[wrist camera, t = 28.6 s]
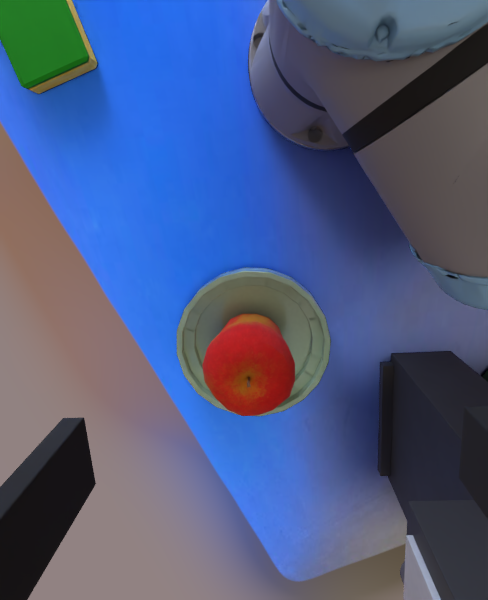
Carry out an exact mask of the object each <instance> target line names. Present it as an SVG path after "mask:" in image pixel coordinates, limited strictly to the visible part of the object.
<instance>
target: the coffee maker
mask: <svg viewBox="0 0 488 600" xmlns="http://www.w3.org/2000/svg"><path fill="white" fill-rule="evenodd" d="M474 406H488V382H487V381H486V380H485V379H484V378H482V377H481V376H480V375H479V374H478V373H476V372H475V371H474V370H473V369H472V368H470V367H469V366H468V365H467V364H465V363H464V362H463V361H462V360H461V359H459V358H458V357H457V356H456V355H455V354H453V353H452V352H451V351H444V352H417V353H392V354H391V362H380V391H379V435H378V471H379V474H380V476H388V478H389V480H390V483H391V485H392V487H393V489H394V492H395V494H396V496H397V498H398V501H399V503H400V505H401V508H402V510H403V512H404V514H405V517H406V519H407V535H406V552H405V561H404V563H403V564H402V566H401V570H400V575H401V578H402V581H403V584H404V597H403V600H488V519H487V518H486V516H485V515H484V513H483V512H482V511H481V509H480V508H479V506H478V505H477V503H476V502H475V500H474V499H473V498H472V496H471V495H470V493H469V492H468V490H467V489H466V487H465V486H464V484H463V483H462V482H461V480H460V479H459V468H460V456H461V443H462V430H463V418H464V407H474Z"/></svg>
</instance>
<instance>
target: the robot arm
mask: <svg viewBox="0 0 488 600" xmlns="http://www.w3.org/2000/svg"><path fill="white" fill-rule="evenodd" d="M248 70H249V78H250V85H251V89H252V93H253V96H254V100H255V102H256V104H257V107H258V109H259V110H260V112H261V114H262V116H263V117H264V119H265V120H266V121H267V123H268V124H269V125H270V126H271V127H272V128H273V129H274V130H275V131H276V132H277V133H278V134H279V135H281V136H282V137H283V138H285V139H286V140H288V141H289V142H291V143H293V144H295V145H298V146H301V147H303V148H307V149H312V150H319V151H330V150H338V149H343V148H347V147H350V148H351V149H352V151H353V154H354V156H355V157H356V159H357V160H358V162H359V163H360V165H361V167H362V168H363V170H364V171H365V173H366V174H367V176H368V178H369V179H370V181H371V182H372V184H373V186H374V187H375V189H376V190H377V192H378V193H379V195H380V197H381V198H382V200H383V201H384V203H385V204H386V206H387V208H388V209H389V211H390V212H391V214H392V216H393V217H394V219H395V220H396V222H397V223H398V225H399V227H400V228H401V230H402V231H403V233H404V234H405V236H406V238H407V239H408V241H409V248H410V250H411V252H412V254H413V255H414V257H415V258H416V259H417V260H418V261H419V262H420V263H421V264H422V265H423V266H424V267H426V268H427V270H428V271H429V273H430V274H431V275H432V277H433V278H434V280H435V281H436V283H437V284H438V285H439V287H440V288H441V289H442V290H443V291H444V292H445V293H446V294H448V295H449V296H451V297H452V298H454V299H455V300H457V301H459V302H461V303H463V304H465V305H468V306H472V307H475V308H479V309H484V310H488V0H267V2H266V3H265V5H264V7H263V9H262V10H261V13H260V15H259V17H258V19H257V21H256V24H255V26H254V30H253V33H252V36H251V41H250V46H249V55H248ZM459 479H460V480H461V482H462V483H463V484H464V486H465V487H466V489H467V490H468V492H469V493H470V495H471V496H472V498H473V499H474V500H475V502H476V503H477V505H478V506H479V508H480V509H481V511H482V512H483V513H484V515H485V516H486V518H487V519H488V406H474V407H464V418H463V430H462V443H461V456H460V468H459ZM95 484H96V483H95V478H94V472H93V466H92V461H91V455H90V449H89V443H88V438H87V432H86V426H85V421H84V418H63V419H62V420H61V421H60V422H59V423H58V425H57V426H56V427H55V428H54V429H53V430H52V431H51V432H50V433H49V434H48V435H47V436H46V438H45V439H44V440H43V441H42V442H41V443H40V444H39V445H38V446H37V447H36V448H35V450H34V451H33V452H32V453H31V454H30V455H29V456H28V457H27V458H26V459H25V461H24V462H23V463H22V464H21V465H20V466H19V467H18V468H17V469H16V470H15V471H14V473H13V474H12V475H11V476H10V477H9V478H8V479H7V480H6V481H5V482H4V484H3V485H2V486H1V487H0V600H27V599H28V597H29V596H30V594H31V592H32V591H33V589H34V587H35V585H36V584H37V582H38V580H39V579H40V577H41V576H42V574H43V572H44V570H45V569H46V567H47V565H48V563H49V562H50V560H51V559H52V557H53V555H54V553H55V552H56V550H57V548H58V547H59V545H60V543H61V541H62V540H63V538H64V537H65V535H66V533H67V531H68V530H69V528H70V526H71V525H72V523H73V521H74V519H75V518H76V516H77V515H78V513H79V511H80V510H81V508H82V506H83V505H84V503H85V501H86V499H87V498H88V496H89V494H90V493H91V491H92V489H93V488H94V486H95Z"/></svg>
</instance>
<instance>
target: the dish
mask: <svg viewBox="0 0 488 600" xmlns="http://www.w3.org/2000/svg"><path fill="white" fill-rule="evenodd" d="M241 314H259V315H262V316H265V317H268V318H270V319H271V320H272V321H273V322H274V323H275V324H276V325H277V326H278V327H279V329H280V332H281V334H282V336H283V339H284V340H285V341H286V343H287V345H288V347H289V349H290V352H291V354H292V357H293V359H294V362H295V382H294V385H293V388H292V391H291V394H290V397H288V398H287V399H286V400H285V401H284V402H282V403H281V404H280V405H279V406H277V407H276V408H275V409H274V410H272V411H269V412H266V413H263V414H260V415H252V416H264V415H268V414H273V413H278V412H282V411H284V410H286V409H288V408H290V407H292V406H293V405H295V404H297V403H299V402H301V401H302V400H304V399H305V398H306V396H307V395H308V394H309V393H310V392H311V391H312V390H313V389H314V388H315V387H316V386H317V385H318V384H319V382H320V380H321V378H322V376H323V373H324V371H325V369H326V367H327V365H328V362H329V353H330V343H331V339H330V334H329V330H328V326H327V322H326V318H325V315H324V313H323V311H322V310H321V308H320V307H319V305H318V304H317V302H316V300H315V299H314V297H313V296H312V294H311V293H310V292H309V291H308V290H307V289H306V288H304V287H303V286H302V285H301V284H300V283H298V282H297V281H296V280H295V279H293V278H291V277H290V276H287V275H285V274H282V273H279V272H277V271H274V270H271V269H267V268H248V267H245V268H240V269H237V270H233V271H229V272H225V273H222V274H220V275H219V276H217V277H216V278H214V279H213V280H211V281H209V282H208V283H206V284H205V285H203V286H202V287H201V288H200V290H199V291H198V292H197V293H196V295H195V296H194V297H193V298H192V300H191V301H190V302H189V303H188V305H187V306H186V308H185V309H184V312H183V315H182V317H181V320H180V323H179V326H178V329H177V356H178V359H179V362H180V365H181V368H182V371H183V374H184V376H185V377H186V378H187V380H188V381H189V383H190V384H191V385H192V387H193V388H194V389H195V391H196V392H197V393H198V394H199V395H200V396H202V397H203V398H205V399H206V400H207V401H209V402H210V403H211V404H213V405H214V406H215V407H218V408H220V409H223V410H226V411H229V410H227V409H226V408H225V407H224V406H223V405H222V404H221V403H220V402H219V401H218V400H217V399H216V398H215V397H214V396H213V394H212V393H211V391H210V389H209V388H208V386H207V385H206V383H205V381H204V374H203V366H202V364H203V361H204V358H205V354H206V351H207V348H208V346H209V344H210V343H211V341H212V340H213V339H214V338H215V337H216V336H217V335H218V334H219V333H220V332H221V331H222V329H223V328H224V327H225V325H226V324H227V323H228V322H229V320H230V319H232V318H234V317H236V316H238V315H241ZM229 412H231V413H234V412H232V411H229ZM234 414H237V413H234ZM238 415H239V414H238Z"/></svg>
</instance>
